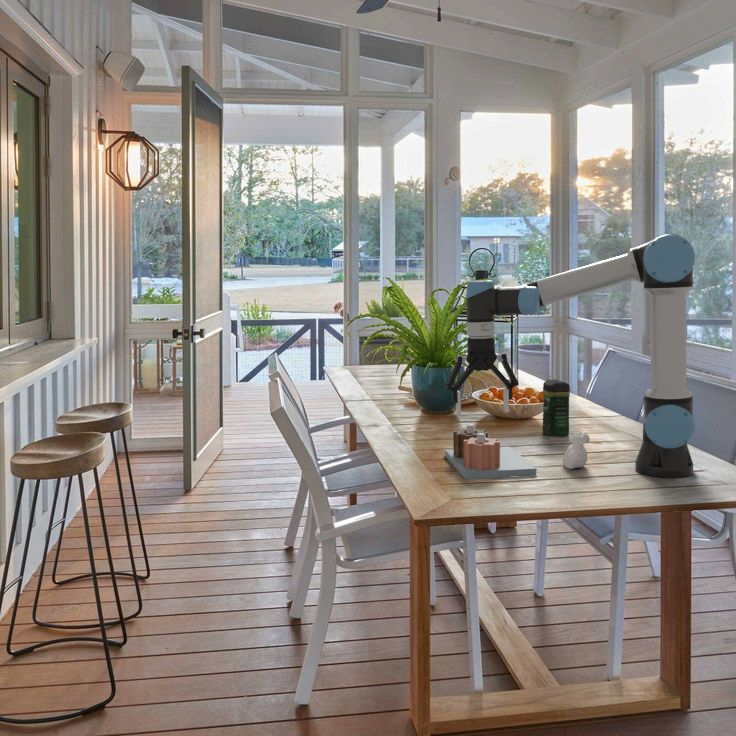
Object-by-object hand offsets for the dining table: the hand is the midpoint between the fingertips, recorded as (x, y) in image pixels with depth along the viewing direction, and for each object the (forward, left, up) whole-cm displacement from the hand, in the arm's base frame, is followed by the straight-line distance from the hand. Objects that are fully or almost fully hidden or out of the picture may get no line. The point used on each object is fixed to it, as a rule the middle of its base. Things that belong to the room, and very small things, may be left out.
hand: (482, 413), depth 220 cm
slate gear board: (+7, -4, -17) cm, 19 cm away
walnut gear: (+12, 0, -15) cm, 19 cm away
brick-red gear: (0, 0, -15) cm, 15 cm away
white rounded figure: (+1, -28, -17) cm, 33 cm away
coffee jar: (+42, -37, -17) cm, 58 cm away
